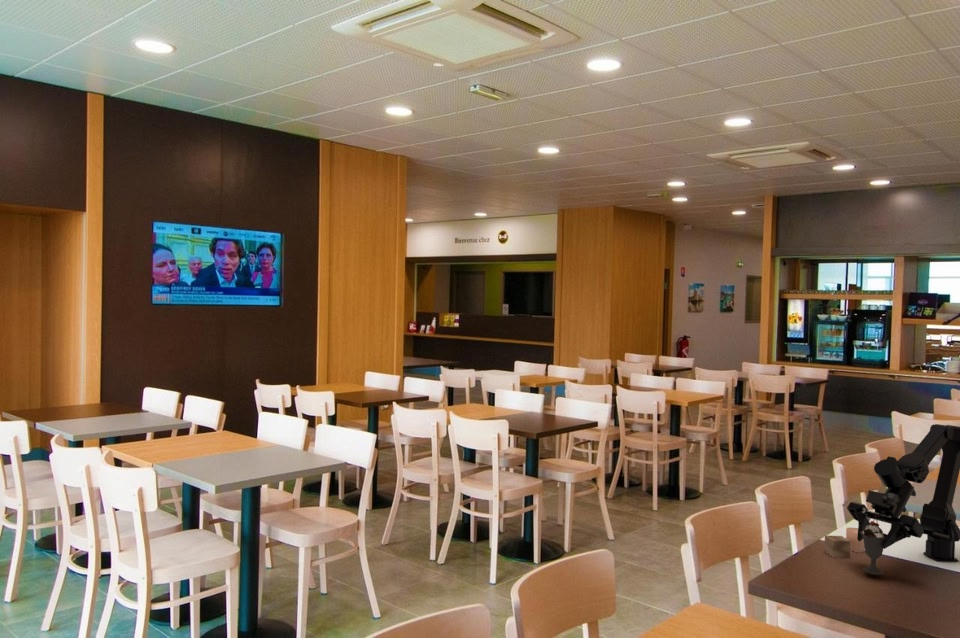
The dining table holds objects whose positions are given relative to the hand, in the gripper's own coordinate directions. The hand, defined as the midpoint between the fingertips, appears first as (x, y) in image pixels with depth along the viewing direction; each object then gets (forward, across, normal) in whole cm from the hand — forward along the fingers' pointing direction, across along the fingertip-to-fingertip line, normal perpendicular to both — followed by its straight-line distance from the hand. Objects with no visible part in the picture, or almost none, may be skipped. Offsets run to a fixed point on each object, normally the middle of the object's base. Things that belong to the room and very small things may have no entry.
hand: (870, 544), depth 195 cm
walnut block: (0, -15, +12) cm, 20 cm away
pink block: (-6, -16, +19) cm, 26 cm away
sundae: (+5, 0, +6) cm, 8 cm away
